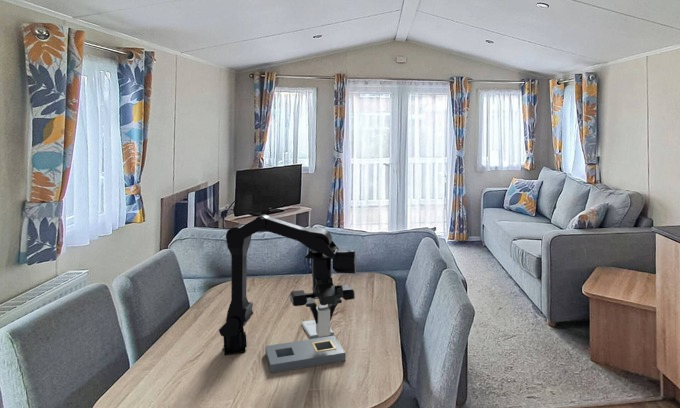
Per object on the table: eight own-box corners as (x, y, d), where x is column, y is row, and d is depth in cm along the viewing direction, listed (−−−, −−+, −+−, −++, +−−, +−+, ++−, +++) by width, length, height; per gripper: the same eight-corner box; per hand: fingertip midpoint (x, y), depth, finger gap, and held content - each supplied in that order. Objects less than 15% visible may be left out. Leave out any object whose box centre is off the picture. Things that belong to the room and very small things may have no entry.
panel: (270, 373, 120) (270, 364, 120) (265, 353, 131) (265, 345, 131) (345, 360, 126) (345, 351, 126) (334, 343, 138) (334, 335, 137)
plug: (318, 336, 127) (318, 309, 126) (316, 331, 131) (315, 305, 130) (330, 335, 128) (330, 307, 127) (327, 330, 132) (326, 303, 131)
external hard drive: (310, 340, 141) (301, 325, 153) (334, 336, 144) (323, 322, 155) (310, 335, 141) (301, 321, 152) (334, 331, 143) (323, 317, 155)
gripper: (296, 284, 117) (297, 338, 119) (360, 277, 122) (360, 328, 124) (289, 272, 127) (290, 322, 129) (348, 266, 133) (349, 314, 135)
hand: (322, 322), depth 129 cm, fingers closed on plug, 4 cm apart
